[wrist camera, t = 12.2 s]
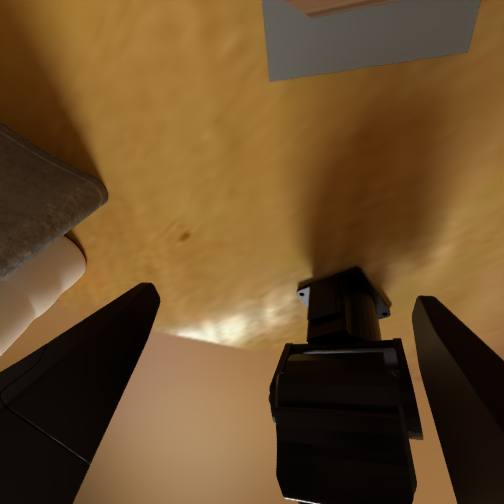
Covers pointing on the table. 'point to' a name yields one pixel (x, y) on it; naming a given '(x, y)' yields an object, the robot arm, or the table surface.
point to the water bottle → (37, 287)
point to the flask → (38, 200)
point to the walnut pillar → (333, 6)
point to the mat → (364, 35)
